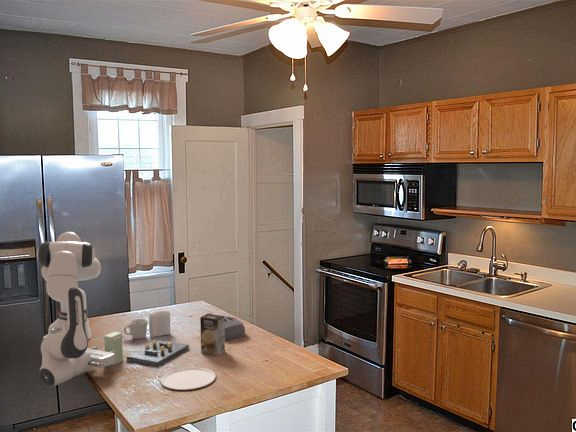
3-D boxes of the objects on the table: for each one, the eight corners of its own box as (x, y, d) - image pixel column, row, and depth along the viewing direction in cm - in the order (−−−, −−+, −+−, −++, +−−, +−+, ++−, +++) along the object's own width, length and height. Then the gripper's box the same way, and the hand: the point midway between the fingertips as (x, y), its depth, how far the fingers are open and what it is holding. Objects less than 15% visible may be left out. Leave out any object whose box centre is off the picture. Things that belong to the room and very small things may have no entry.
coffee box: (200, 352, 231) (199, 317, 229) (208, 348, 236) (207, 313, 235) (218, 356, 227) (217, 319, 225) (225, 351, 233) (225, 315, 231)
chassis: (126, 361, 222) (126, 349, 221) (159, 344, 242) (159, 333, 242) (157, 366, 216) (157, 354, 215) (188, 349, 236) (188, 338, 235)
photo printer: (168, 331, 260) (168, 307, 259) (172, 334, 256) (171, 309, 255) (148, 335, 254) (147, 310, 253) (151, 338, 251) (150, 312, 249)
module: (105, 364, 219) (104, 335, 218) (115, 359, 224) (114, 331, 223) (113, 365, 217) (111, 337, 216) (123, 360, 223) (122, 332, 222)
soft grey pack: (249, 336, 252) (229, 326, 268) (249, 319, 251) (229, 310, 268) (221, 343, 244) (202, 331, 260) (220, 325, 243) (201, 315, 259)
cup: (125, 342, 245) (125, 325, 244) (122, 337, 252) (122, 321, 251) (149, 338, 250) (148, 322, 249) (145, 333, 257) (145, 317, 256)
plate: (219, 388, 195) (219, 384, 195) (162, 395, 190) (162, 392, 189) (211, 367, 215) (211, 364, 215) (159, 373, 209) (159, 370, 209)
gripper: (100, 357, 199) (125, 346, 212) (60, 350, 207) (86, 339, 220) (100, 374, 200) (125, 361, 212) (60, 365, 208) (87, 353, 221)
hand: (105, 349), depth 216 cm, fingers open, 8 cm apart
